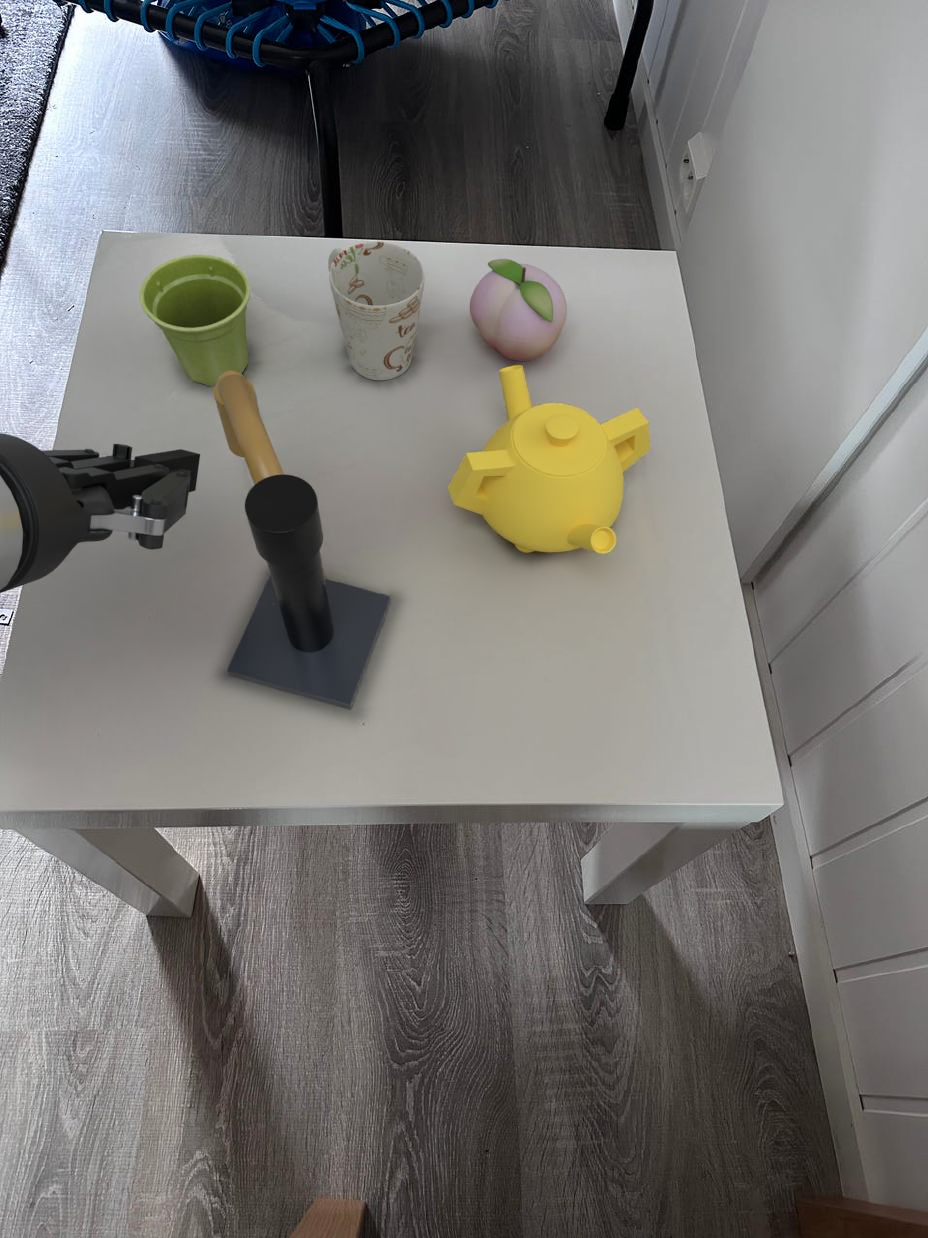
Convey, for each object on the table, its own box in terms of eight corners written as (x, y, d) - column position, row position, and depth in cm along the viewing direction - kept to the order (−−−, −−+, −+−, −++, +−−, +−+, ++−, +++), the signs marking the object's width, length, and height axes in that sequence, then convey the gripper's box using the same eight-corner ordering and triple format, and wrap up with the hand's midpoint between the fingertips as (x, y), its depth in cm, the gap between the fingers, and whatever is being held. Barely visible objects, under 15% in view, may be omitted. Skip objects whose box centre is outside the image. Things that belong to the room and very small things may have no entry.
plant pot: (185, 414, 78) (161, 342, 70) (151, 347, 81) (124, 272, 74) (280, 381, 80) (266, 308, 73) (242, 317, 84) (226, 242, 76)
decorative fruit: (576, 355, 84) (596, 272, 75) (521, 398, 81) (535, 316, 72) (508, 306, 87) (519, 220, 78) (452, 345, 84) (457, 260, 75)
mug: (371, 403, 80) (366, 320, 71) (296, 326, 84) (282, 238, 75) (440, 364, 82) (443, 280, 74) (364, 292, 87) (358, 204, 78)
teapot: (410, 450, 77) (410, 359, 67) (586, 403, 81) (610, 312, 71) (491, 633, 69) (504, 560, 59) (683, 571, 73) (725, 493, 63)
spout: (213, 437, 64) (189, 360, 57) (270, 422, 65) (253, 343, 58) (275, 606, 57) (256, 541, 50) (337, 585, 58) (327, 519, 51)
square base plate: (228, 675, 66) (186, 584, 53) (276, 571, 70) (247, 465, 58) (350, 710, 65) (336, 625, 53) (390, 602, 70) (386, 501, 57)
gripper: (96, 474, 37) (281, 440, 59) (-175, 403, 38) (109, 396, 60) (81, 632, 39) (265, 541, 62) (-175, 562, 40) (99, 498, 63)
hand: (188, 469), depth 61 cm, fingers closed
